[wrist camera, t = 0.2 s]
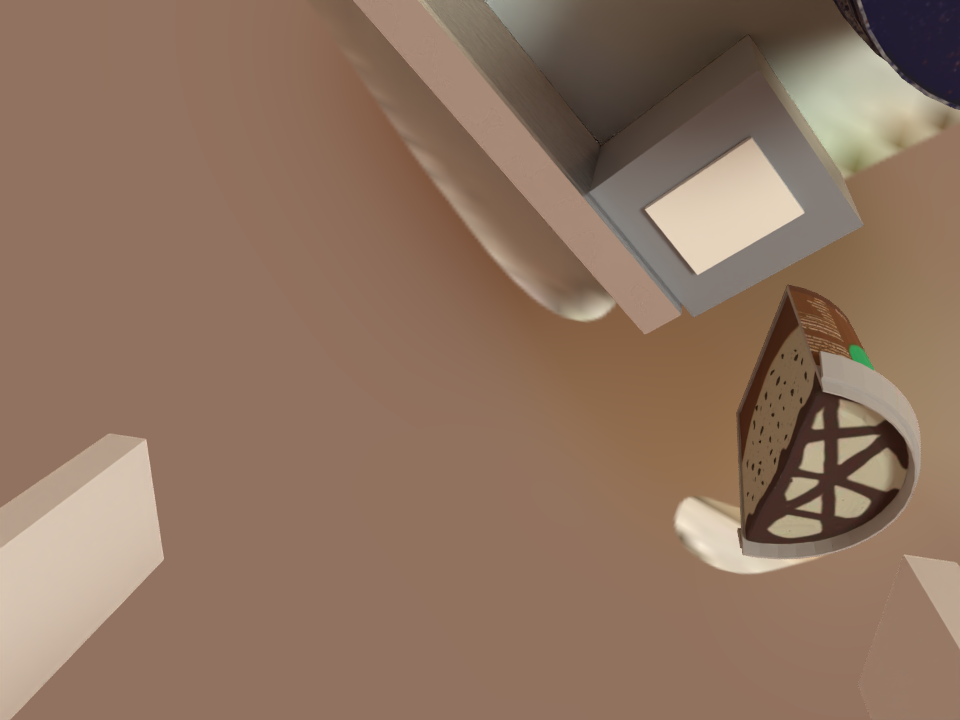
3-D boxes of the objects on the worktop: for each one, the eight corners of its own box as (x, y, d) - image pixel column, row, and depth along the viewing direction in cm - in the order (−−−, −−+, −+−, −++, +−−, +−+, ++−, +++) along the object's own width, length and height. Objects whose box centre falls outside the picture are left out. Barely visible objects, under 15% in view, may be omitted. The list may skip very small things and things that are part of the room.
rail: (334, -187, 29) (261, -188, 24) (681, 247, 37) (681, 314, 32) (306, -146, 30) (231, -139, 25) (649, 266, 38) (645, 334, 33)
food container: (831, 450, 43) (864, 588, 35) (729, 430, 44) (739, 561, 36) (923, 280, 35) (990, 409, 27) (796, 260, 36) (828, 380, 28)
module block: (748, 34, 30) (759, 72, 26) (840, 172, 33) (865, 228, 28) (600, 146, 35) (588, 195, 30) (692, 261, 37) (693, 321, 33)
